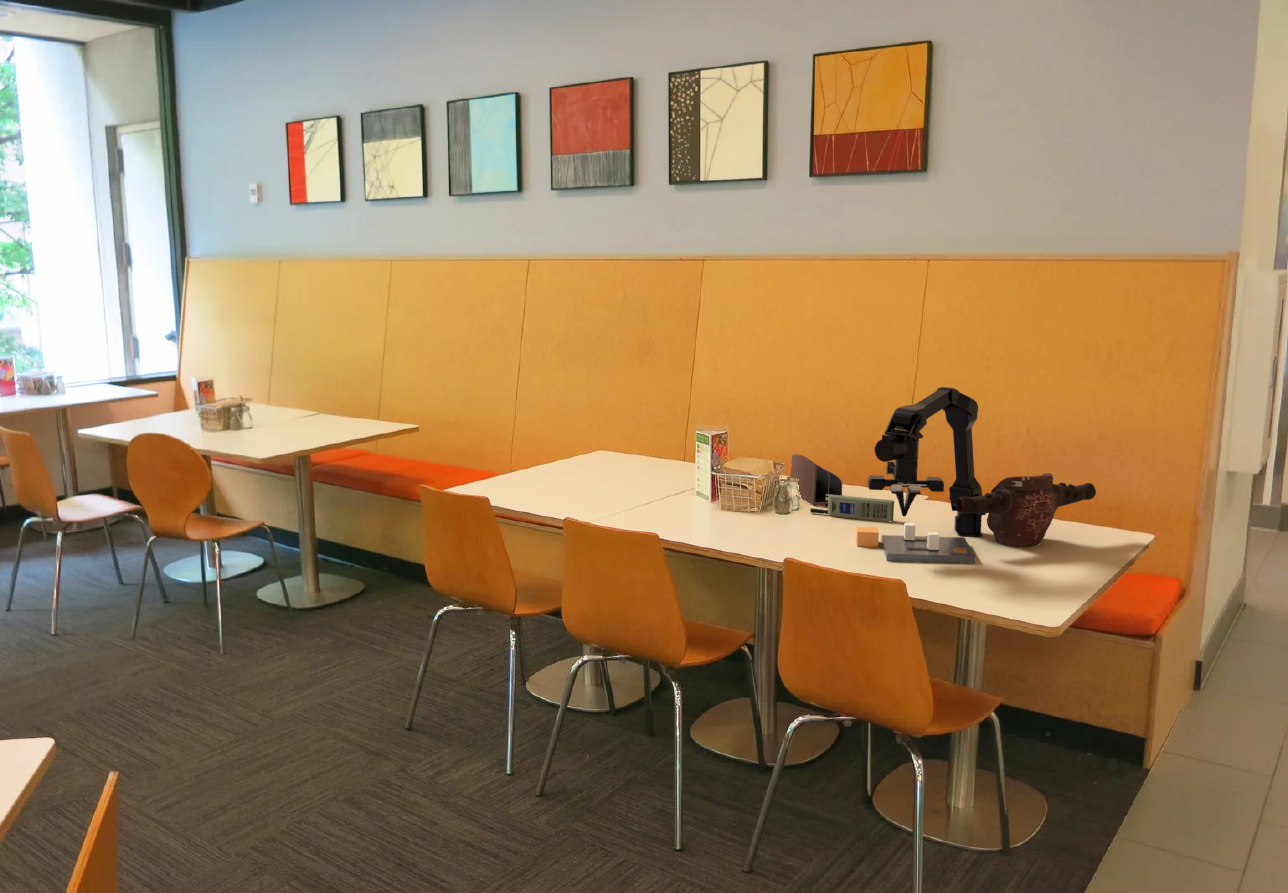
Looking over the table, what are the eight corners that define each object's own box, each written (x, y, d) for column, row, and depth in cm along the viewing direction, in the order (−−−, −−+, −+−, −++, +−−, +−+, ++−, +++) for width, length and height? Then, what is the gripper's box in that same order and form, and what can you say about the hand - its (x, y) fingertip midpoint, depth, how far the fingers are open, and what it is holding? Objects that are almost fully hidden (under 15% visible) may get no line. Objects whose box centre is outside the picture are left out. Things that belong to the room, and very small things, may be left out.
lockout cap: (876, 541, 289) (877, 527, 288) (878, 546, 283) (878, 532, 283) (855, 540, 290) (856, 526, 289) (857, 546, 284) (857, 531, 284)
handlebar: (1071, 530, 299) (1075, 461, 295) (1105, 541, 287) (1110, 469, 284) (940, 546, 283) (943, 474, 279) (970, 559, 271) (974, 483, 268)
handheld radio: (891, 523, 309) (808, 515, 319) (893, 521, 312) (811, 513, 322) (892, 501, 308) (809, 494, 318) (894, 499, 311) (812, 492, 321)
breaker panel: (964, 544, 285) (964, 536, 284) (975, 563, 267) (975, 555, 267) (881, 542, 288) (881, 534, 288) (886, 560, 270) (887, 552, 270)
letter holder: (813, 506, 330) (814, 462, 327) (789, 493, 349) (790, 451, 346) (842, 504, 332) (843, 460, 330) (817, 491, 351) (818, 449, 349)
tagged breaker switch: (937, 547, 274) (938, 532, 274) (938, 550, 272) (939, 535, 271) (927, 546, 275) (927, 532, 274) (928, 549, 272) (928, 534, 271)
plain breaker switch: (913, 537, 284) (914, 523, 283) (914, 540, 281) (915, 525, 281) (903, 537, 284) (904, 522, 283) (904, 539, 282) (905, 525, 281)
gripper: (939, 452, 276) (936, 509, 279) (867, 450, 279) (865, 507, 282) (945, 460, 266) (942, 520, 268) (870, 458, 268) (868, 517, 271)
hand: (904, 516), depth 273 cm, fingers closed
